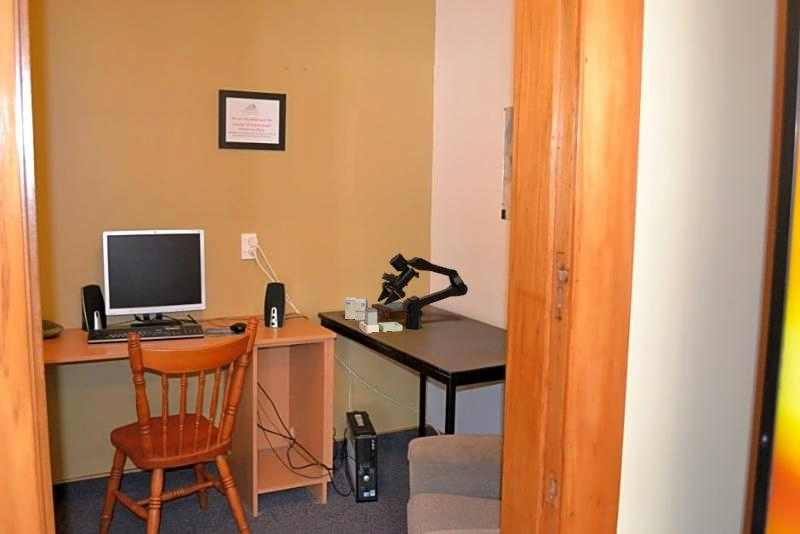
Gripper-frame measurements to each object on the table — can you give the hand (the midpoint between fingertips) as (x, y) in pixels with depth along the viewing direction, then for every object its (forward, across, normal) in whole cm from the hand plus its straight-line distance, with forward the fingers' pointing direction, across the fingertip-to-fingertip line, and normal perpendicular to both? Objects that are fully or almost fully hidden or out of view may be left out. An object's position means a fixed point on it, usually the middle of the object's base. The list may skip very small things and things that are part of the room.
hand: (381, 302), depth 329 cm
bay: (+12, 0, +6) cm, 14 cm away
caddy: (+12, 0, +6) cm, 14 cm away
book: (-4, -34, +23) cm, 41 cm away
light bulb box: (+12, -28, +7) cm, 31 cm away
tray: (+6, 0, +12) cm, 14 cm away
